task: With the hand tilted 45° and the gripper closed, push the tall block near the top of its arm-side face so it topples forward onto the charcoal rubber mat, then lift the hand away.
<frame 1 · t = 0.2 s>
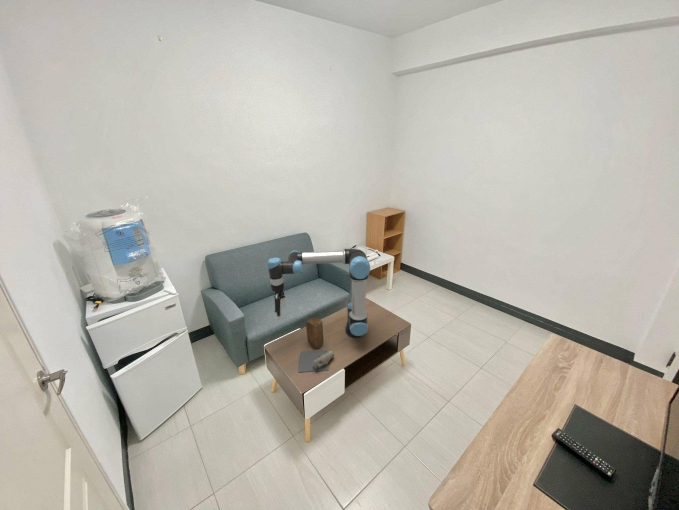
hand: (281, 313, 170), 28 cm above the table, tool pointing down, fingers open, 13 cm apart
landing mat: (313, 360, 170), on the table
block: (315, 344, 184), on the table
decorative bird: (324, 364, 167), on the table, touching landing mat
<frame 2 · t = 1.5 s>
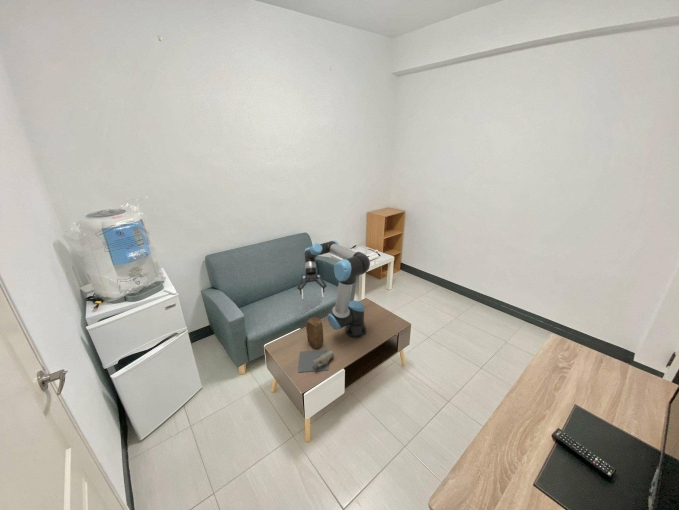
hand: (312, 298, 186), 28 cm above the table, tool tilted 45°, fingers open, 13 cm apart
nothing on the table moved.
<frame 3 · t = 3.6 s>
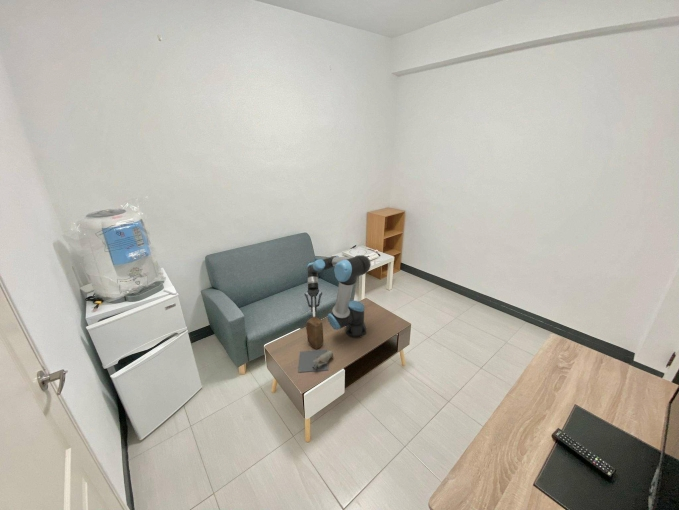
hand: (314, 316, 187), 15 cm above the table, tool tilted 45°, fingers closed
nothing on the table moved.
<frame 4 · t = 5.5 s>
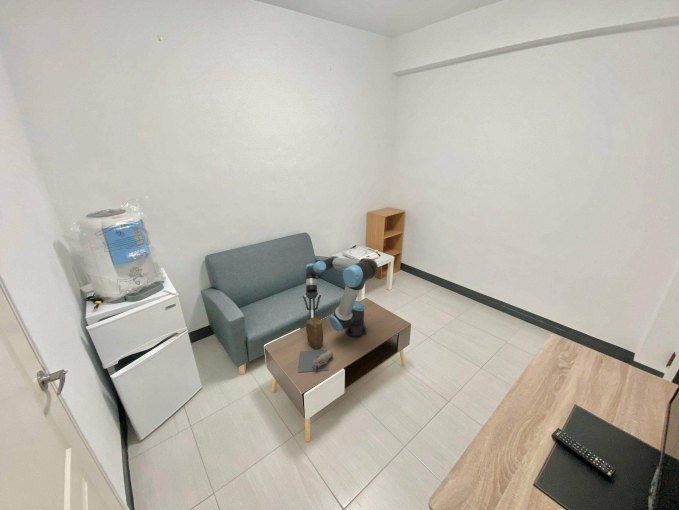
hand: (312, 320, 181), 17 cm above the table, tool tilted 45°, fingers closed
block: (315, 344, 184), on the table, touching gripper
everything else where it was.
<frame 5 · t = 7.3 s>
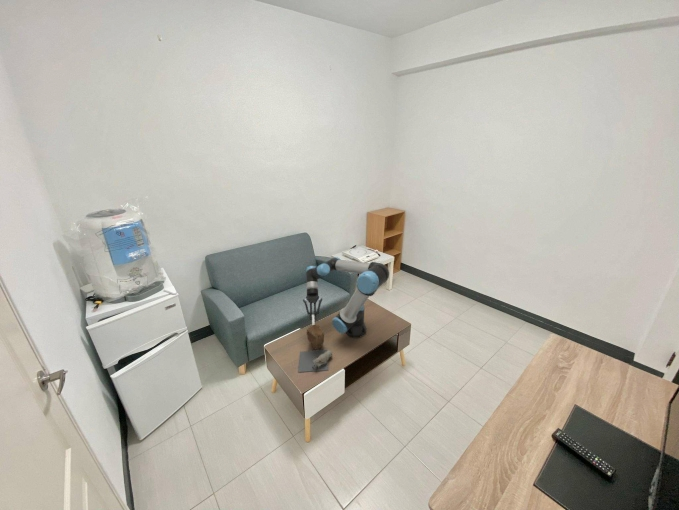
hand: (313, 325, 172), 19 cm above the table, tool tilted 45°, fingers closed
block: (315, 341, 182), point 2 cm above the table
everything else where it was.
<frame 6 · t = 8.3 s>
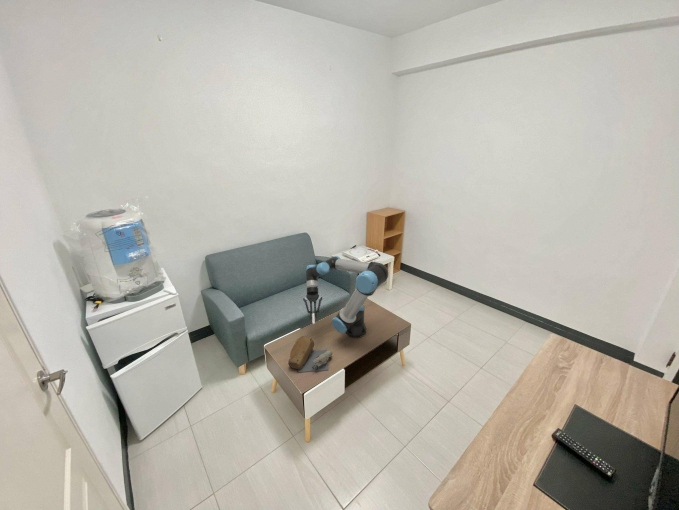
hand: (313, 323, 173), 20 cm above the table, tool tilted 45°, fingers closed
block: (307, 339, 177), point 8 cm above the table, touching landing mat
everything else where it was.
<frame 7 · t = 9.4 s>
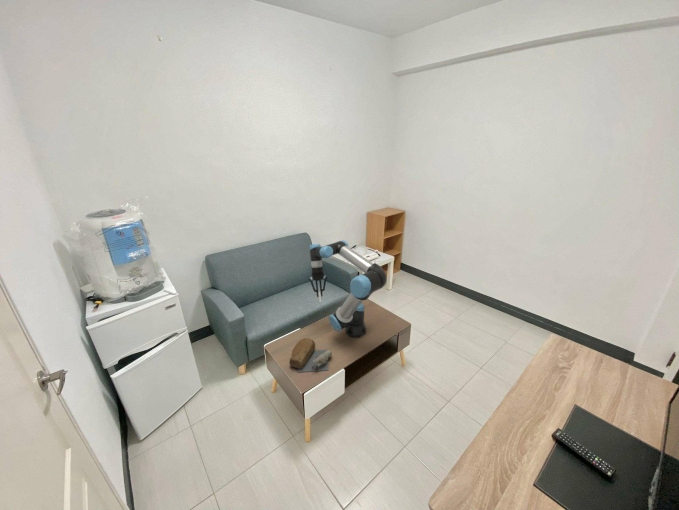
hand: (320, 301, 185), 26 cm above the table, tool tilted 20°, fingers closed
block: (308, 341, 180), point 4 cm above the table, touching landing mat
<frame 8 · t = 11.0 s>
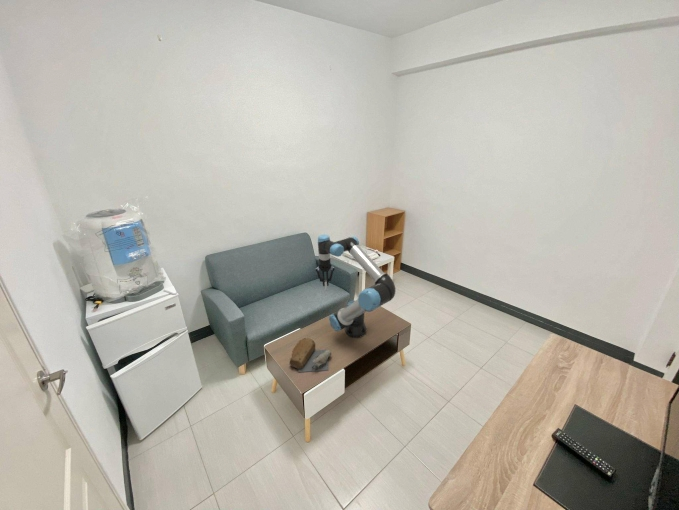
hand: (325, 289, 186), 32 cm above the table, tool pointing down, fingers closed
at the end: block tilted 92°; block inside the target area (6.8 cm from its centre), point 4.5 cm above the table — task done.
